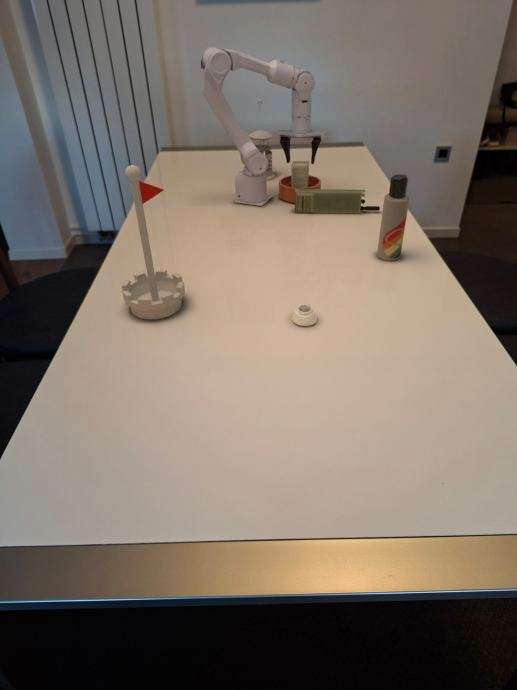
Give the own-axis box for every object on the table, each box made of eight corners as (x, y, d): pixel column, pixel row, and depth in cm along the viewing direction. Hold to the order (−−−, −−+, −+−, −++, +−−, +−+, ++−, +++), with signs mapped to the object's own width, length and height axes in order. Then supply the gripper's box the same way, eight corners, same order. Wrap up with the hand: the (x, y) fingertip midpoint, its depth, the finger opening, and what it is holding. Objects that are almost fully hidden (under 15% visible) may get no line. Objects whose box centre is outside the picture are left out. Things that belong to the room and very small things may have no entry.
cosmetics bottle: (308, 192, 160) (309, 161, 154) (306, 197, 156) (308, 165, 150) (292, 192, 161) (293, 160, 155) (290, 197, 157) (291, 164, 151)
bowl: (272, 201, 156) (272, 185, 153) (287, 187, 166) (287, 172, 163) (312, 206, 152) (313, 190, 149) (325, 192, 162) (326, 177, 159)
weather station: (244, 179, 174) (240, 101, 159) (253, 169, 183) (251, 94, 168) (270, 181, 172) (270, 102, 157) (279, 171, 181) (279, 95, 166)
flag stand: (128, 326, 102) (95, 180, 84) (124, 295, 112) (94, 159, 94) (190, 315, 104) (172, 172, 86) (181, 286, 114) (163, 152, 96)
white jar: (310, 311, 104) (288, 317, 103) (310, 299, 102) (288, 304, 101) (320, 324, 100) (298, 329, 99) (321, 312, 99) (298, 317, 97)
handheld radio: (295, 209, 151) (378, 210, 148) (294, 213, 148) (379, 214, 145) (295, 187, 146) (381, 188, 144) (294, 192, 144) (382, 192, 141)
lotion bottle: (400, 262, 121) (413, 180, 109) (376, 260, 122) (387, 179, 110) (399, 251, 126) (412, 172, 114) (377, 250, 127) (386, 171, 115)
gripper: (274, 118, 144) (275, 165, 152) (323, 119, 141) (321, 167, 149) (279, 112, 150) (279, 158, 158) (327, 113, 147) (325, 160, 155)
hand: (300, 162), depth 154 cm, fingers open, 7 cm apart
